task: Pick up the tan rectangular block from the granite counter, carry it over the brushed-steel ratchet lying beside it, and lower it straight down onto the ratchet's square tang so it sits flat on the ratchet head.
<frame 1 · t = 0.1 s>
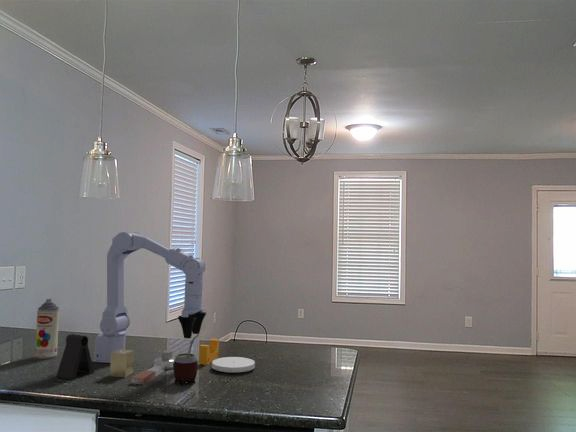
hand: (191, 335, 164), 10 cm above the counter, fingers open, 7 cm apart
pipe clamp: (206, 361, 173), on the counter
phone stand: (75, 375, 150), on the counter
mate gourd: (186, 383, 146), on the counter
tan rectangular block: (121, 374, 152), on the counter
aerosol can: (46, 357, 171), on the counter
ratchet: (166, 366, 164), on the counter
plastic lid: (233, 370, 163), on the counter
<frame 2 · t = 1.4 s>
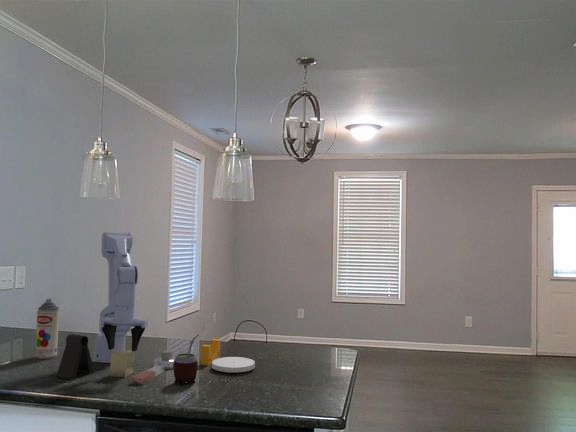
hand: (122, 349, 153), 8 cm above the counter, fingers open, 7 cm apart
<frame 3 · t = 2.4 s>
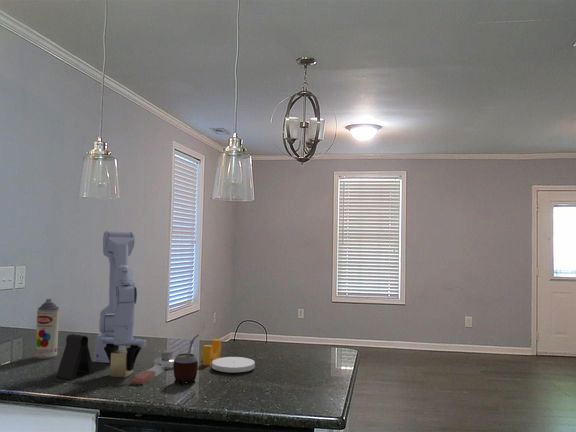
hand: (121, 369, 152), 2 cm above the counter, fingers closed on tan rectangular block, 5 cm apart
tan rectangular block: (121, 374, 152), on the counter, touching gripper
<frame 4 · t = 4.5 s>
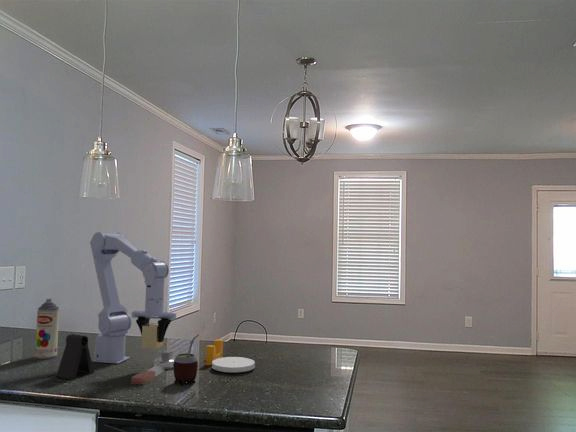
hand: (152, 341, 160), 9 cm above the counter, fingers closed on tan rectangular block, 5 cm apart
tan rectangular block: (152, 346, 160), point 7 cm above the counter, touching gripper
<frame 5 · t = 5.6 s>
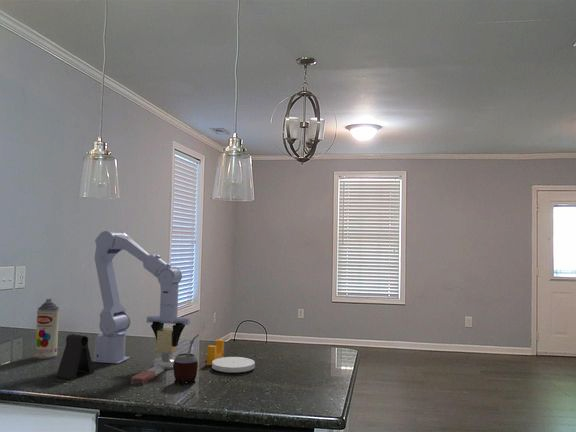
hand: (167, 345, 164), 7 cm above the counter, fingers closed on tan rectangular block, 5 cm apart
tan rectangular block: (166, 350, 164), point 5 cm above the counter, touching gripper
when the fingers open (5 cm above the counter, at t = 6.5 s): tan rectangular block stays where it is, resting on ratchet.
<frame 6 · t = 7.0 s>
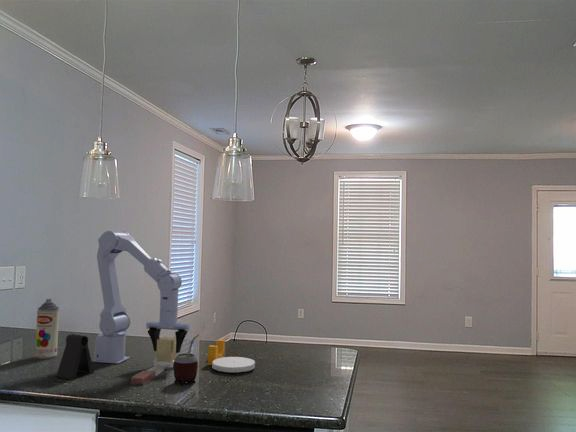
hand: (167, 351, 164), 5 cm above the counter, fingers open, 7 cm apart
tan rectangular block: (166, 359, 163), point 2 cm above the counter, touching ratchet
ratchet: (166, 366, 164), on the counter, touching tan rectangular block
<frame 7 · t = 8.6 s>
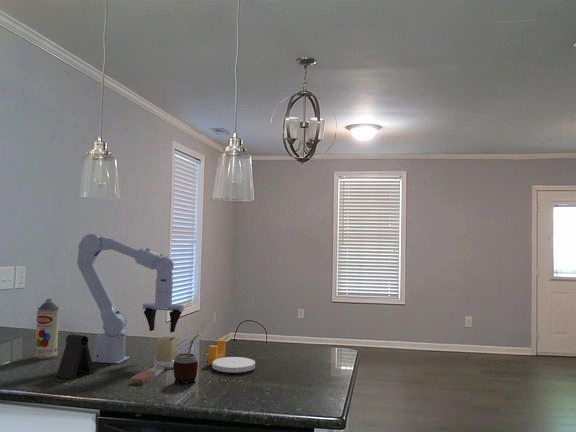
hand: (162, 331, 172), 10 cm above the counter, fingers open, 7 cm apart
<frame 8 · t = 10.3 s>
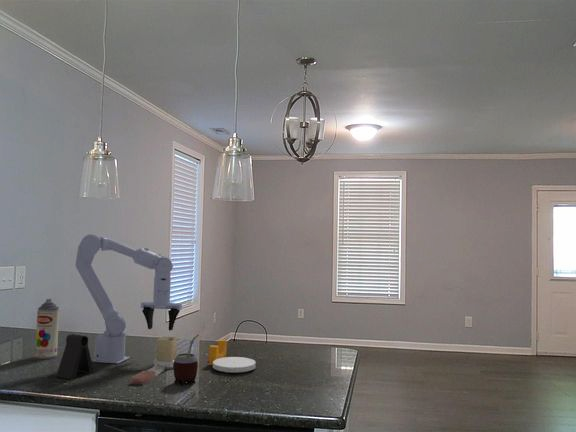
hand: (160, 329, 175), 10 cm above the counter, fingers open, 7 cm apart
at the end: tan rectangular block 0.3 cm off-centre on the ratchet, point 2.2 cm above the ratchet's base; tan rectangular block tilted 0°; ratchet moved 0.1 cm from its start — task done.
